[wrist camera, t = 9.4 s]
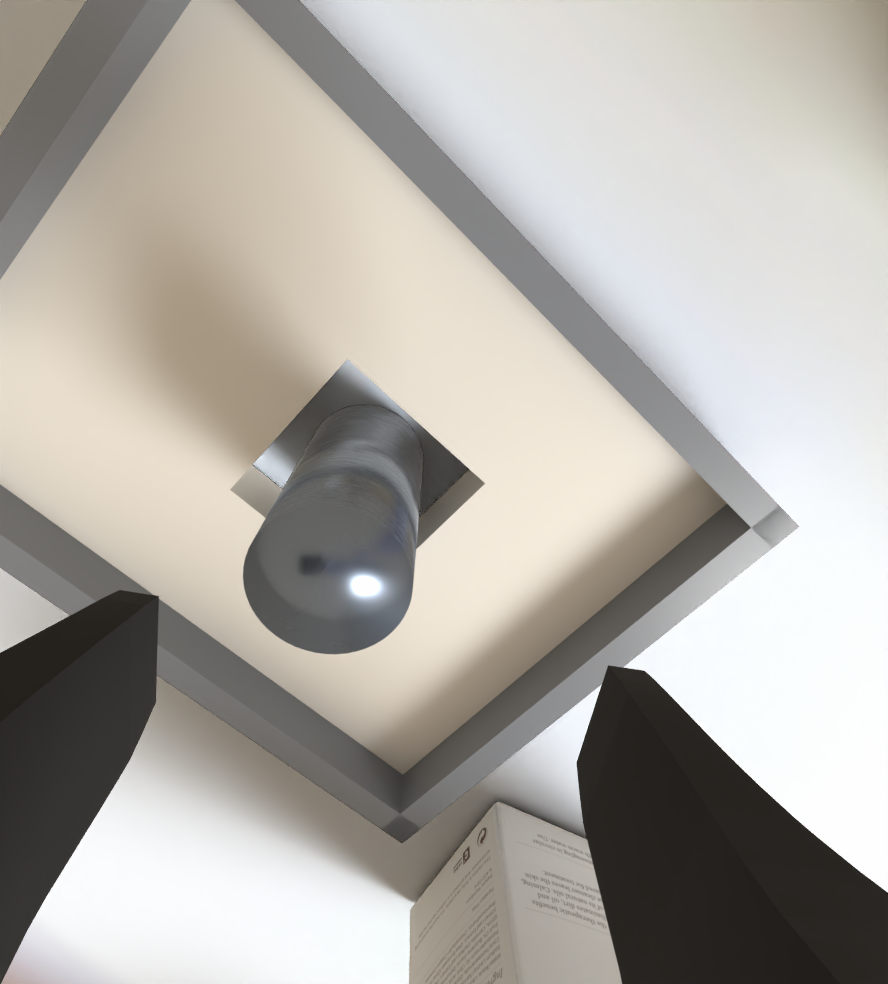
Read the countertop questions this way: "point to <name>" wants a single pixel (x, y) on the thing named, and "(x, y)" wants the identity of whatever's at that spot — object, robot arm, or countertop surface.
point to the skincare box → (513, 910)
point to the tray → (302, 373)
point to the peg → (341, 536)
